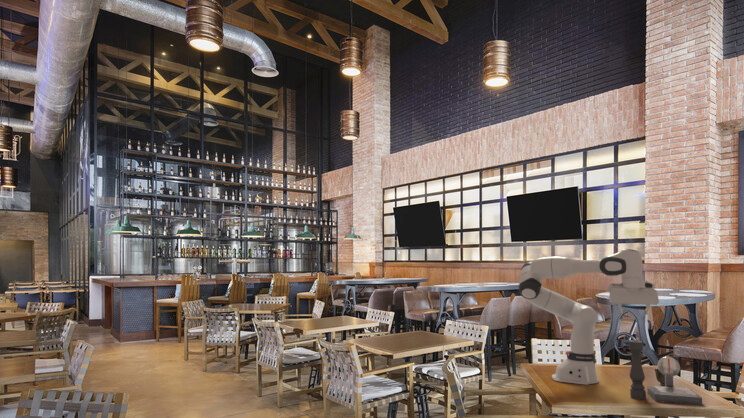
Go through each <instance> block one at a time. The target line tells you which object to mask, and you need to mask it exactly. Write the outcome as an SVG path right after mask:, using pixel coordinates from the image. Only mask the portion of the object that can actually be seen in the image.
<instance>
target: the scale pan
mask: <svg viewBox="0 0 744 418" xmlns="http://www.w3.org/2000/svg"><path fill="white" fill-rule="evenodd" d="M653 387H654V389H655V390H656V391H657V392H658V393H659V394H660V395H673V396H685V397H697V395H696V394H697V393H696V392H695V391H694V390H692V389H690V388H689V387H676V386H674V387H666V386H661V385H653ZM691 390H692V391H691ZM693 391H694V392H695V393H696V394H695V393H694V392H693Z"/></svg>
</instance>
